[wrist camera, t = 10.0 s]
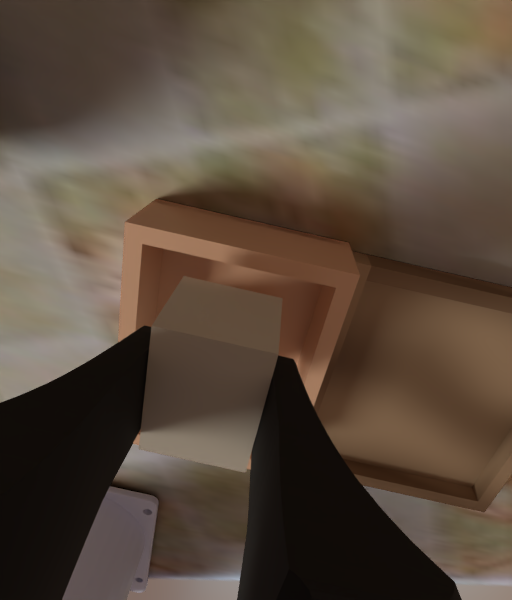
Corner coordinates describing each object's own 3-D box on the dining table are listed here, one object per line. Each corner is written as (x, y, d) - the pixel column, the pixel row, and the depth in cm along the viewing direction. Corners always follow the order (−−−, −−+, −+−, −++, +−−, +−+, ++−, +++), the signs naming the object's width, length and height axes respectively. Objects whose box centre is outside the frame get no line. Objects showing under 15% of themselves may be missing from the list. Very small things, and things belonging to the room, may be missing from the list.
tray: (475, 491, 21) (484, 512, 20) (285, 448, 21) (285, 467, 20) (599, 307, 16) (621, 322, 15) (351, 250, 16) (355, 262, 15)
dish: (289, 423, 20) (288, 478, 17) (138, 390, 20) (112, 439, 17) (349, 242, 16) (360, 275, 13) (156, 198, 16) (124, 222, 13)
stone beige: (255, 401, 14) (245, 472, 11) (169, 381, 14) (138, 448, 11) (282, 298, 12) (278, 354, 9) (183, 276, 12) (151, 325, 9)
